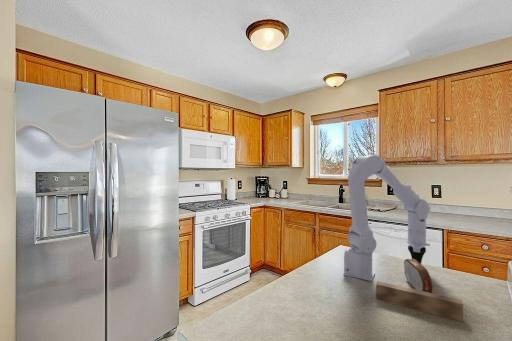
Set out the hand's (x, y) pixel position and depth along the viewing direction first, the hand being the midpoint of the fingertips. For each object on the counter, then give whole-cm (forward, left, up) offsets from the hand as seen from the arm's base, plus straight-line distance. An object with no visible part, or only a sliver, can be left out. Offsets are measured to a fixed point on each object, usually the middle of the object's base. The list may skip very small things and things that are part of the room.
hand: (416, 266), depth 93 cm
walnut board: (0, -29, -2) cm, 29 cm away
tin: (0, -15, -3) cm, 15 cm away
